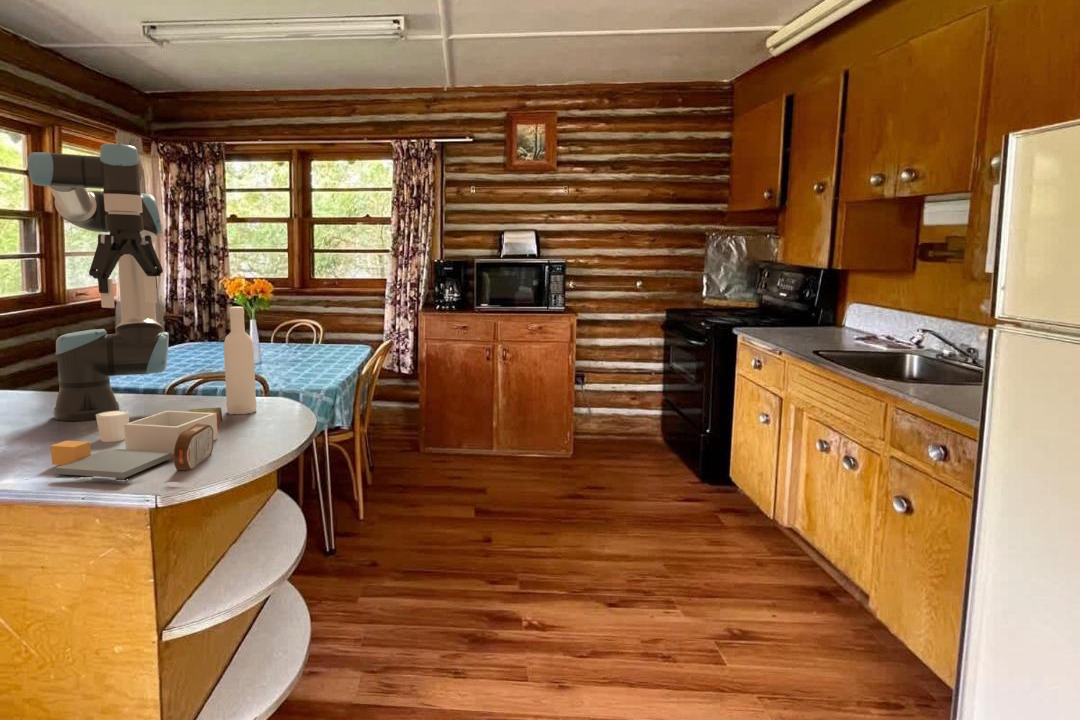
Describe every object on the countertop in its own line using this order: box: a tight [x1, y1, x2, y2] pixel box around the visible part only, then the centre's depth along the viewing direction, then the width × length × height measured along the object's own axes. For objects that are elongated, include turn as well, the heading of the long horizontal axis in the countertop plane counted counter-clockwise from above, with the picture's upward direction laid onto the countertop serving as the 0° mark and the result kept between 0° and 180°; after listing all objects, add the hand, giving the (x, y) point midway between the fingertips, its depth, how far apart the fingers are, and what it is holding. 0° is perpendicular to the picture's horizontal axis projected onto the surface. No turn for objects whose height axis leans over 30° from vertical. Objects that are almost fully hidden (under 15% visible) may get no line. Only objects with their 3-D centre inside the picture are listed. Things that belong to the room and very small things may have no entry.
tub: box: [124, 410, 219, 456], centre depth 159 cm, size 13×14×7 cm
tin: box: [173, 424, 214, 471], centre depth 146 cm, size 15×3×8 cm, turn 5°
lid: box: [50, 440, 173, 481], centre depth 142 cm, size 14×20×6 cm
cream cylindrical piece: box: [95, 410, 130, 443], centre depth 163 cm, size 7×7×7 cm
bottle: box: [223, 306, 257, 415], centre depth 194 cm, size 8×8×30 cm
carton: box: [186, 406, 223, 430], centre depth 177 cm, size 8×16×4 cm, turn 20°
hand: (130, 305), depth 163 cm, fingers open, 13 cm apart
